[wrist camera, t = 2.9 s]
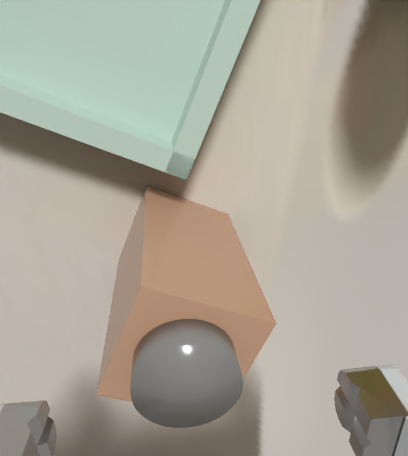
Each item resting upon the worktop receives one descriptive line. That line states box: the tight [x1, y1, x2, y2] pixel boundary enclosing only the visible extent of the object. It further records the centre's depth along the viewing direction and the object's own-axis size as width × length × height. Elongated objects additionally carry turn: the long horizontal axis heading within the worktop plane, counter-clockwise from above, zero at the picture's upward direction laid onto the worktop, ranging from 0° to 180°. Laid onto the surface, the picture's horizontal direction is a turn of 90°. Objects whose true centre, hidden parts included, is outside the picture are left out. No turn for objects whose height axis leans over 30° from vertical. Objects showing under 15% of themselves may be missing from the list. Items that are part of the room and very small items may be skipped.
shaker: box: [96, 186, 276, 428], centre depth 16 cm, size 5×5×10 cm
